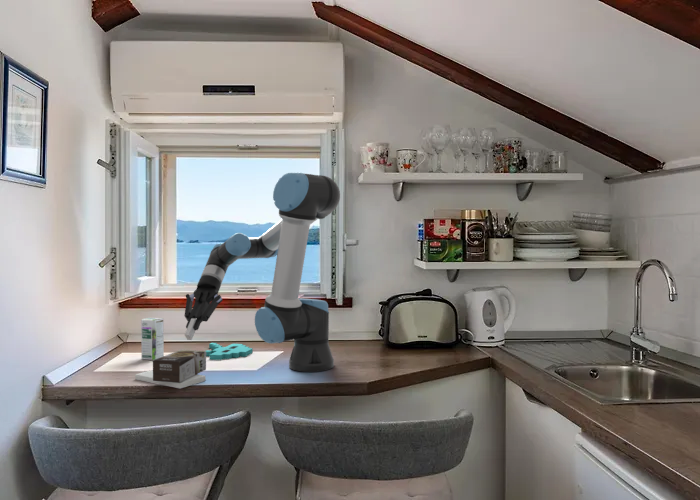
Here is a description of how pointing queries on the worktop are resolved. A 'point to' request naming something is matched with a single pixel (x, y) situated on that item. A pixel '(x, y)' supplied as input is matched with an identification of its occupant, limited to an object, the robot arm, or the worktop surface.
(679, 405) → the worktop surface
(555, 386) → the worktop surface
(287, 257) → the robot arm
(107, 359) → the worktop surface
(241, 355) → the alien figure
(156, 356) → the syrup box
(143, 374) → the board
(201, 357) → the coffee box
